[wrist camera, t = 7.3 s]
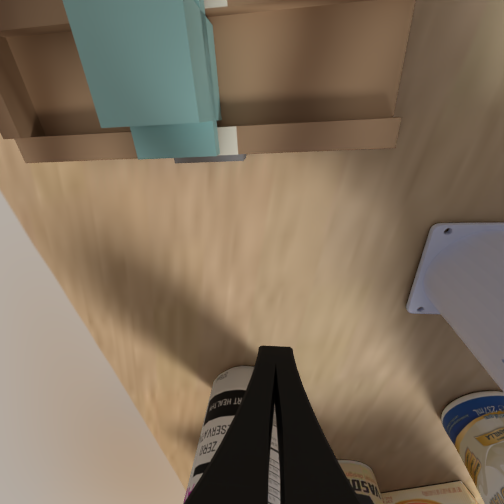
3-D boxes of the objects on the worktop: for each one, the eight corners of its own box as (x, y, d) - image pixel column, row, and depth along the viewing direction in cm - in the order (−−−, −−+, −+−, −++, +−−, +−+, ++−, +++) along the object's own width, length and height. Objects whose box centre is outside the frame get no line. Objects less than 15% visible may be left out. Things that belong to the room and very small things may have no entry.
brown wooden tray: (397, -36, 12) (456, -111, 8) (367, 152, 16) (397, 165, 12) (22, 7, 14) (-80, -35, 10) (79, 163, 18) (22, 177, 14)
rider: (208, -22, 11) (170, -92, 7) (224, 150, 14) (205, 163, 10) (119, -11, 11) (40, -72, 7) (155, 153, 14) (113, 167, 11)
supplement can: (268, 413, 31) (260, 630, 18) (205, 393, 30) (149, 604, 17) (297, 376, 27) (313, 619, 14) (226, 352, 27) (173, 585, 13)
